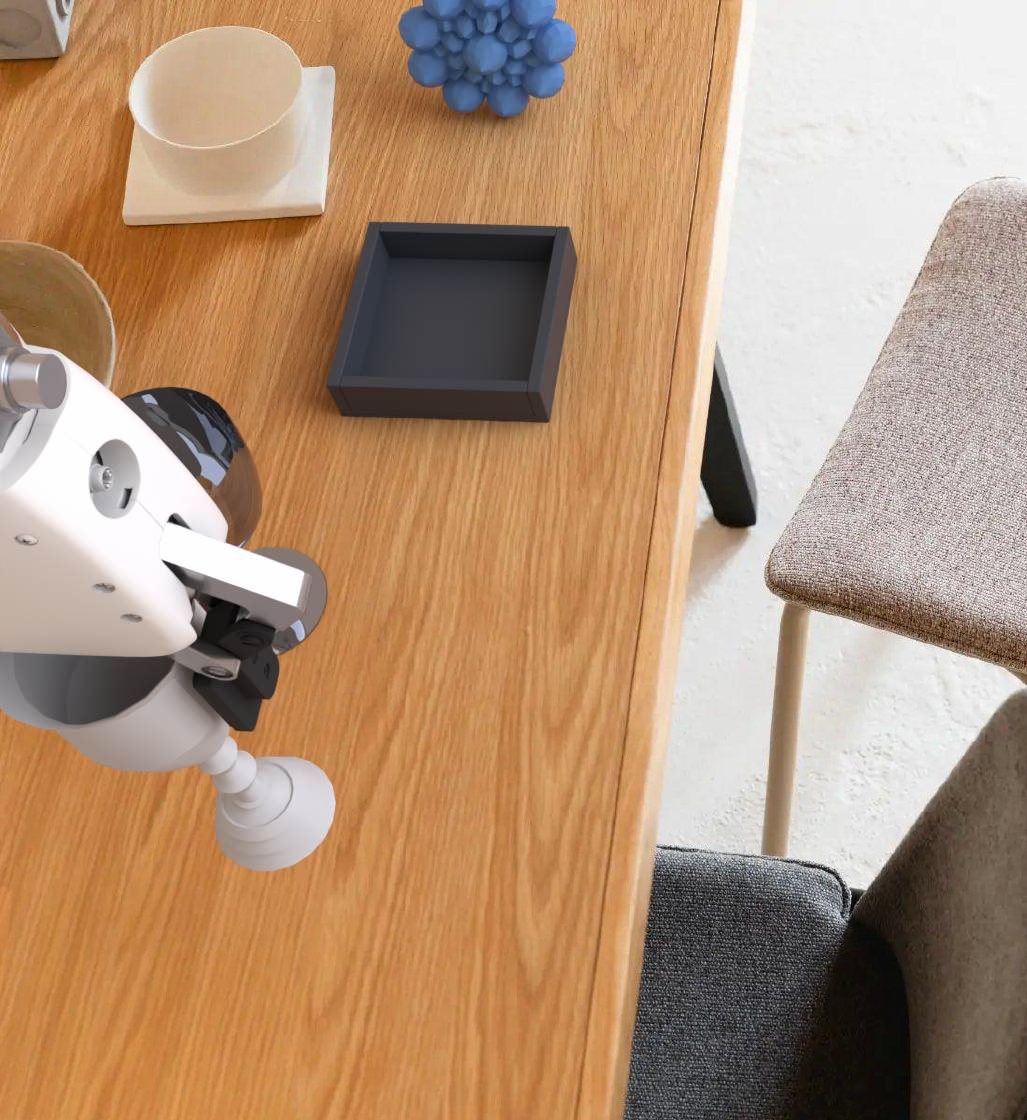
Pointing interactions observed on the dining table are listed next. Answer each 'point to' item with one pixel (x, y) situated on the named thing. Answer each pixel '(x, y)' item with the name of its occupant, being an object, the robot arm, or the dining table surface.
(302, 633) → the wine glass
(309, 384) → the dining table surface
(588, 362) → the dining table surface
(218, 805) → the chalice
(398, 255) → the tray
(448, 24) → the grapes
